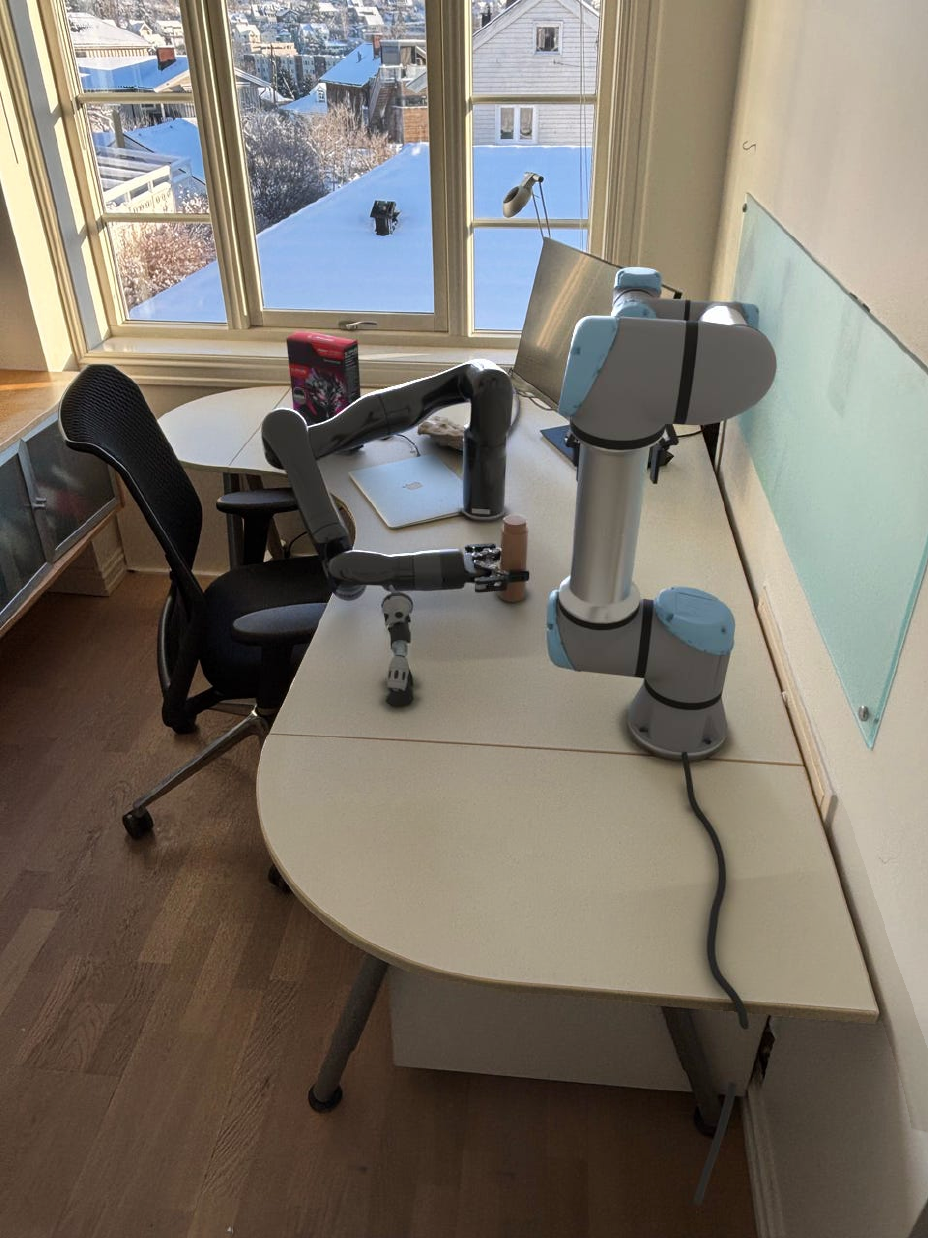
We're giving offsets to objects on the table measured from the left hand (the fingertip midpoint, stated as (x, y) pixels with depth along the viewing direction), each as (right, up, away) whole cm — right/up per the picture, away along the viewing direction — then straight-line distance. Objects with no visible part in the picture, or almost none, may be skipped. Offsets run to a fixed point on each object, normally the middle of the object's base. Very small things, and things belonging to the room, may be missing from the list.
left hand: (524, 564), depth 172 cm
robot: (-22, -22, -22) cm, 38 cm away
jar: (-2, -6, +3) cm, 7 cm away
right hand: (+16, +15, -5) cm, 22 cm away
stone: (-14, +34, +62) cm, 72 cm away
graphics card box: (-45, +33, +61) cm, 83 cm away
